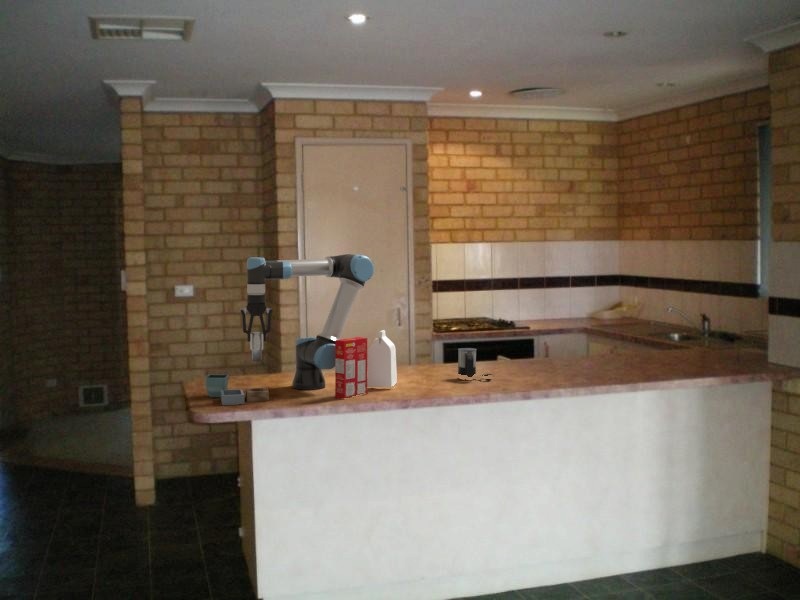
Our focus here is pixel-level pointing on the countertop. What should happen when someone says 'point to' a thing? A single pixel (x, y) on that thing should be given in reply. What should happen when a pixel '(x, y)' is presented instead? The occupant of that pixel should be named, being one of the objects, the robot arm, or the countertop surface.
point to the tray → (232, 397)
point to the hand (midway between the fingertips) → (256, 348)
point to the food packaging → (350, 367)
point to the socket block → (257, 394)
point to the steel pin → (256, 346)
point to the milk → (382, 363)
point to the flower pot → (216, 384)
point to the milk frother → (467, 362)
